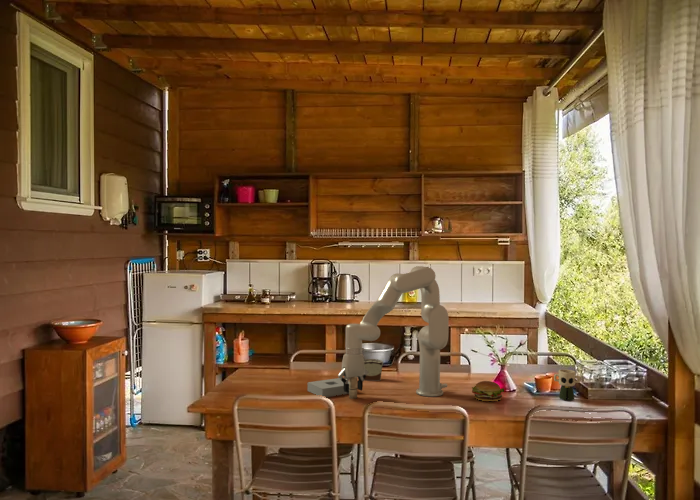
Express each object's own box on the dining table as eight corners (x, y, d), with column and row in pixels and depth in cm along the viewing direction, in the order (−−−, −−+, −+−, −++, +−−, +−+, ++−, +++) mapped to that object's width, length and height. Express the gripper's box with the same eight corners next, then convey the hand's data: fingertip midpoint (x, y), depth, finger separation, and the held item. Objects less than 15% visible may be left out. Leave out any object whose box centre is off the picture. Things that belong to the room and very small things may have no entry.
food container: (383, 378, 287) (384, 359, 287) (383, 380, 281) (383, 361, 281) (360, 377, 288) (360, 358, 288) (359, 380, 282) (359, 360, 282)
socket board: (339, 386, 269) (339, 377, 269) (355, 392, 257) (355, 383, 257) (307, 390, 259) (307, 382, 259) (322, 397, 248) (322, 388, 248)
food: (465, 399, 248) (465, 381, 248) (481, 393, 258) (481, 376, 258) (493, 405, 238) (493, 387, 238) (508, 399, 249) (508, 381, 249)
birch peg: (354, 396, 251) (354, 374, 251) (358, 398, 248) (359, 376, 248) (347, 397, 249) (347, 375, 249) (351, 399, 246) (352, 376, 246)
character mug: (554, 400, 248) (554, 371, 248) (553, 396, 254) (553, 368, 254) (580, 402, 244) (580, 373, 244) (578, 398, 251) (579, 370, 251)
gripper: (364, 348, 256) (364, 386, 256) (332, 351, 247) (332, 391, 247) (374, 351, 250) (373, 390, 250) (341, 354, 240) (341, 395, 240)
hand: (353, 390), depth 248 cm, fingers open, 6 cm apart
